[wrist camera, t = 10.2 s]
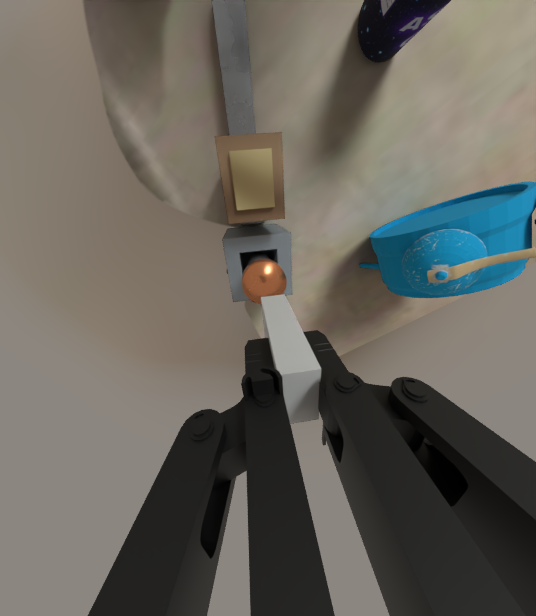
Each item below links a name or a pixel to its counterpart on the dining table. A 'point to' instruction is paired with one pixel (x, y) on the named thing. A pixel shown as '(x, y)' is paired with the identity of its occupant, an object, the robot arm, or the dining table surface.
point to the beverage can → (392, 24)
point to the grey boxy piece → (252, 240)
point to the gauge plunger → (262, 277)
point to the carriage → (252, 176)
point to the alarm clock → (458, 244)
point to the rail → (235, 66)
